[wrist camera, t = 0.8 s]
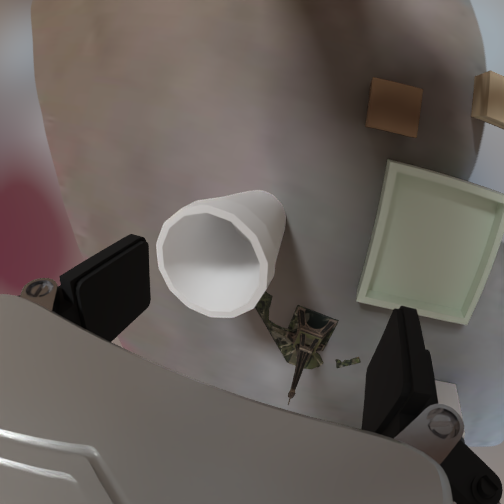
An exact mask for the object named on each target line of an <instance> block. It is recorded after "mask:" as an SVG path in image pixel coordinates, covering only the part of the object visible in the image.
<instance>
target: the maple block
mask: <svg viewBox="0 0 504 504" xmlns="http://www.w3.org/2000/svg"><path fill="white" fill-rule="evenodd" d="M471 117H473V118H476V119H479V120H482V121H484V122H486V123H489V124H492V125H494V126H497V127H499V128H502V129H504V76H502V75H499V74H497V73H495V72H492V71H488V72H485V73H483V74H480V75H477V76H475V80H474V93H473V103H472V112H471Z"/></svg>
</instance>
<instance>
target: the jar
mask: <svg viewBox="0 0 504 504" xmlns="http://www.w3.org/2000/svg"><path fill="white" fill-rule="evenodd" d="M435 384H436V391H437V397H438V404H444V405H447V406H449V407H451V408H453V409H454V410H455V411H456V412H457V413H458V414H459V415H460V417H461V418H462V412H461V407H460V402H459V397H458V392H457V387H456V384H452V383H447V382H442V381H437V380H435ZM462 420H463V418H462ZM464 436H465V430H464V433H463V435H462V437H461V439H460V440H461V441H462V442H463V443H464V444H465V442H464Z"/></svg>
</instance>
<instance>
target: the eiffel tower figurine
mask: <svg viewBox="0 0 504 504" xmlns="http://www.w3.org/2000/svg"><path fill="white" fill-rule="evenodd" d="M271 300H272V296H271V295H270V294H268V293H267V292H266V291H265V292H264V294H263V295H262V297H261V298H260V300H259V301H258V303H257V304H256V306H255V308H256V310H257V311H258V313H259V315H260V316H261V318H262V320H263V322H264V323H265V325H266V327H267V329H268V330H269V332H270V334H271V336H272V337H273V339H274V341H275V342H276V344H277V346H278V348H279V349H280V351H281V353H282V354H283V356H284V358H285V359H286V361H287V362H288V363H290V364H293V365H296V368H295V373H294V378H293V382H292V386H291V390H290V391H289V393H288V397H289V398H290V399H291V398H293V397H294V395H295V389H296V386H297V384H298V381H299V379H300V376H301V374H302V371H303V368H304V369H313V368H315V367H319V366H320V365H322V364H323V361H322V359H321V357H320V355H319V354H318V353H317V352H316V351H320V350H321V351H323V349H324V348H325V346H326V344H327V342H328V340H329V338H330V336H331V335H332V333H333V331H334V329H335V327H336V325H337V323H338V321H339V320H336V319H333V318H331V317H328V316H325V315H323V314H320V313H318V312H315V311H312V310H310V309H307V308H305V307H302V306H300V305H298V306H297V308H296V311H295V313H294V315H293V318H292V320H291V323H290V325H289V327H288V329H286V328H282V327H280V326H278V325H276V324H274V323H273V322H271V321H270V320H269V307H270V304H271ZM335 361H336V367H337V368H340V367H344V366H348V365H352V364H356V363H360V359H359V357H357V358H353V359H351V360H344V361H343V362H341V361H340V360H338V359H336V360H335ZM290 399H289V402H290ZM289 402H288V405H289Z"/></svg>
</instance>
